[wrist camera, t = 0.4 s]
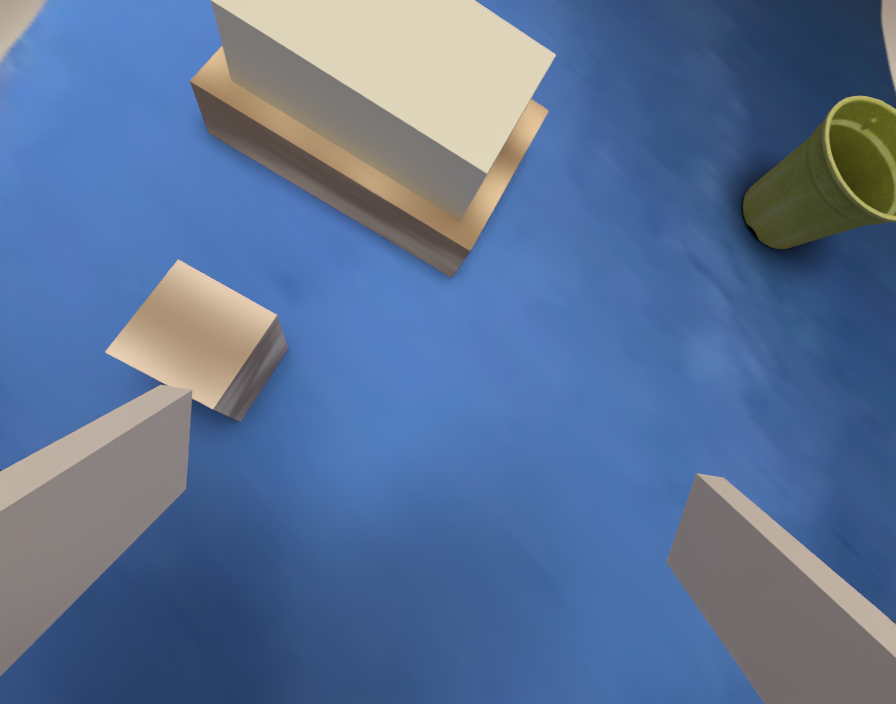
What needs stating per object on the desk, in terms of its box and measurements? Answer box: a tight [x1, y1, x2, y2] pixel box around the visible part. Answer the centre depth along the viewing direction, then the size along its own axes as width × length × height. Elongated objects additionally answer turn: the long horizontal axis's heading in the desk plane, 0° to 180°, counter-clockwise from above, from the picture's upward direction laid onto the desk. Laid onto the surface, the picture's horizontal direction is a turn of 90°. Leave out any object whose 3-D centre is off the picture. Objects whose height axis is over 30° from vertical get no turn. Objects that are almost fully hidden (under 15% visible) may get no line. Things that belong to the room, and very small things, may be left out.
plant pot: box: [743, 96, 896, 249], centre depth 37 cm, size 9×9×9 cm
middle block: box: [211, 0, 556, 221], centre depth 27 cm, size 9×15×5 cm, turn 63°
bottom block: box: [190, 46, 549, 278], centre depth 32 cm, size 12×18×5 cm, turn 63°
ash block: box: [106, 260, 288, 422], centre depth 25 cm, size 5×5×7 cm
